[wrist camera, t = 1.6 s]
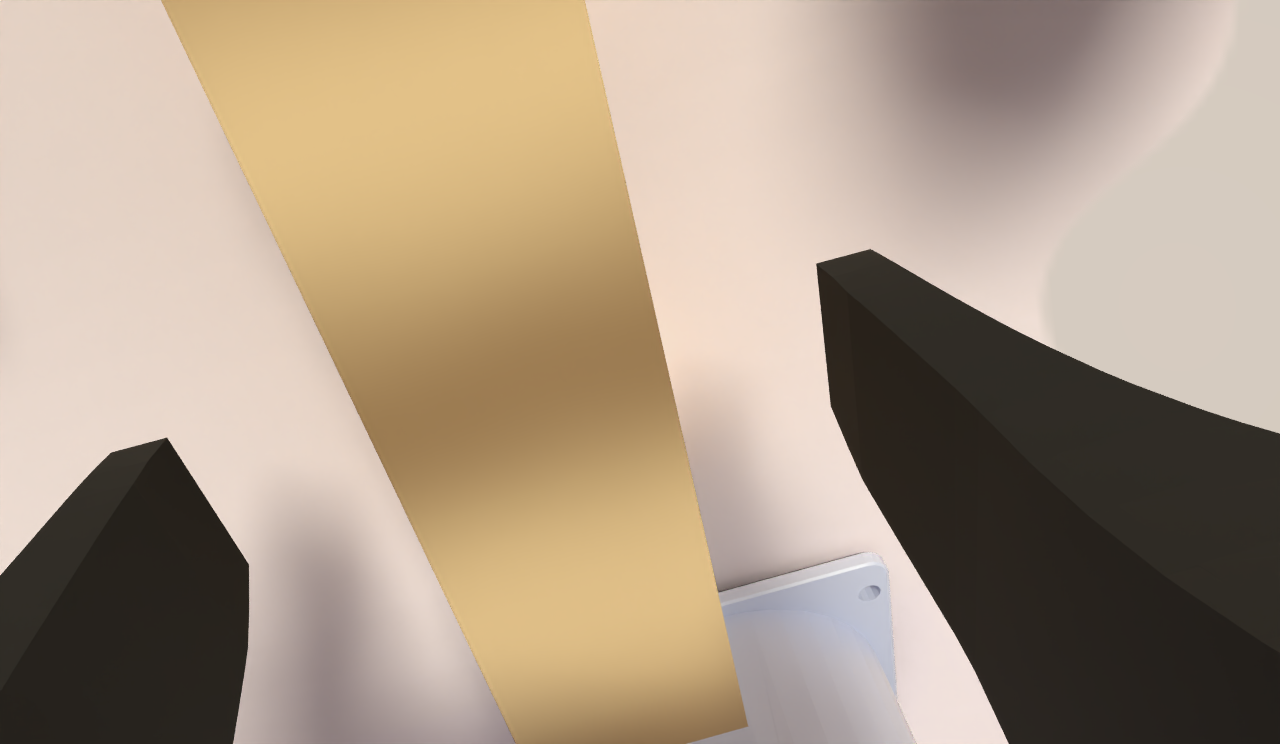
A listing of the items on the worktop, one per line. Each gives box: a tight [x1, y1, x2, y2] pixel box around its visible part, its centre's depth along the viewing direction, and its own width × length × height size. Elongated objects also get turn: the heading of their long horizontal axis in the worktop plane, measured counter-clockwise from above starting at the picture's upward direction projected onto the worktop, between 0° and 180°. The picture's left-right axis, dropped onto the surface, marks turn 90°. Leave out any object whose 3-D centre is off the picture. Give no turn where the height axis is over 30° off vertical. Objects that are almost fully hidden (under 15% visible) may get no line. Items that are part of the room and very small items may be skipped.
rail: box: [161, 0, 748, 744], centre depth 14 cm, size 15×4×6 cm, turn 11°
